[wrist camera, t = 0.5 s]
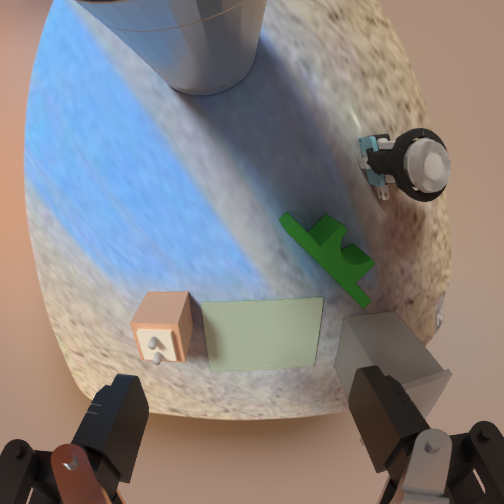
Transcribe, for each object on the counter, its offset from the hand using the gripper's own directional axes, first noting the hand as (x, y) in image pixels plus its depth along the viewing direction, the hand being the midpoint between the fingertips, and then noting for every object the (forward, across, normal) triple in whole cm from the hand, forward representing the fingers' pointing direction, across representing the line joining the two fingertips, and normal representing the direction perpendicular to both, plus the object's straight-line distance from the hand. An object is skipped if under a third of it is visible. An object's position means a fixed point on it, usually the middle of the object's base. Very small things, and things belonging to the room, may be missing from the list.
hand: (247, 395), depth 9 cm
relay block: (+19, +8, +6) cm, 22 cm away
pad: (+19, -2, +10) cm, 22 cm away
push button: (+18, -13, -9) cm, 24 cm away
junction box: (+19, -15, +12) cm, 27 cm away
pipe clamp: (+19, -9, 0) cm, 21 cm away
